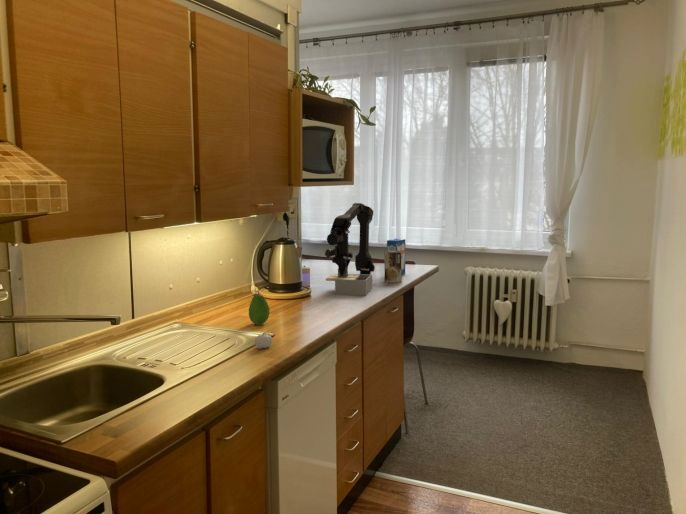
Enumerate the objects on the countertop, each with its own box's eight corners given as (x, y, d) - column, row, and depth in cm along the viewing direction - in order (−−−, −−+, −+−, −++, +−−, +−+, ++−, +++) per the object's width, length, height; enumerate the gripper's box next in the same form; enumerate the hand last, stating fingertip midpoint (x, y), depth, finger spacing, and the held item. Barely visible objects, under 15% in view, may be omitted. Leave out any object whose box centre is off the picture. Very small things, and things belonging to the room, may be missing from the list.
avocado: (250, 327, 210) (249, 296, 209) (248, 322, 218) (246, 292, 216) (271, 326, 213) (270, 295, 211) (268, 321, 220) (267, 291, 218)
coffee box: (401, 280, 301) (401, 250, 298) (401, 282, 294) (401, 252, 292) (384, 280, 302) (384, 250, 299) (384, 282, 295) (384, 252, 293)
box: (342, 287, 283) (342, 273, 282) (372, 288, 280) (372, 274, 278) (335, 294, 268) (334, 279, 266) (366, 295, 264) (365, 280, 263)
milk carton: (396, 273, 323) (395, 238, 320) (405, 274, 320) (405, 239, 317) (387, 275, 315) (386, 240, 312) (396, 276, 312) (396, 241, 309)
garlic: (267, 344, 190) (266, 329, 189) (275, 347, 186) (275, 332, 185) (251, 347, 186) (250, 332, 185) (259, 351, 182) (259, 336, 181)
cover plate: (332, 275, 282) (332, 265, 281) (359, 276, 279) (359, 265, 278) (325, 280, 269) (325, 269, 268) (354, 281, 266) (353, 270, 265)
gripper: (330, 240, 282) (331, 271, 284) (321, 245, 264) (322, 277, 266) (352, 240, 280) (353, 271, 282) (344, 245, 262) (344, 278, 264)
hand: (342, 274), depth 274 cm, fingers closed on cover plate, 4 cm apart
